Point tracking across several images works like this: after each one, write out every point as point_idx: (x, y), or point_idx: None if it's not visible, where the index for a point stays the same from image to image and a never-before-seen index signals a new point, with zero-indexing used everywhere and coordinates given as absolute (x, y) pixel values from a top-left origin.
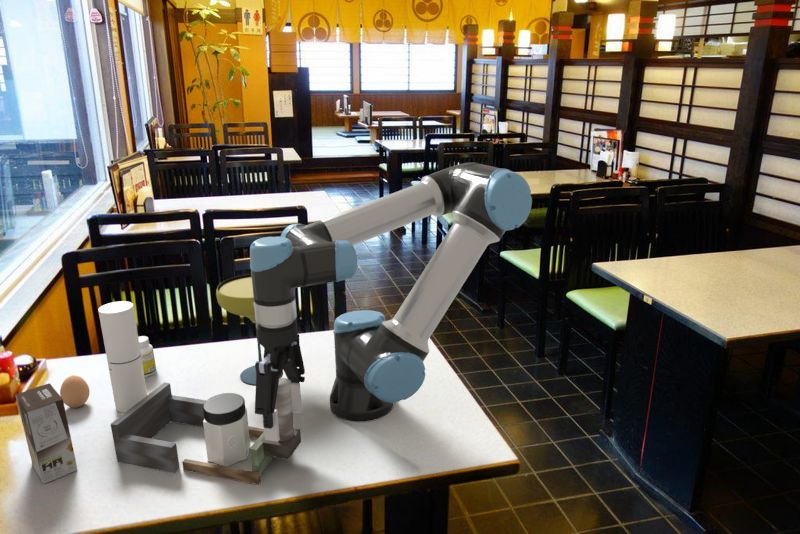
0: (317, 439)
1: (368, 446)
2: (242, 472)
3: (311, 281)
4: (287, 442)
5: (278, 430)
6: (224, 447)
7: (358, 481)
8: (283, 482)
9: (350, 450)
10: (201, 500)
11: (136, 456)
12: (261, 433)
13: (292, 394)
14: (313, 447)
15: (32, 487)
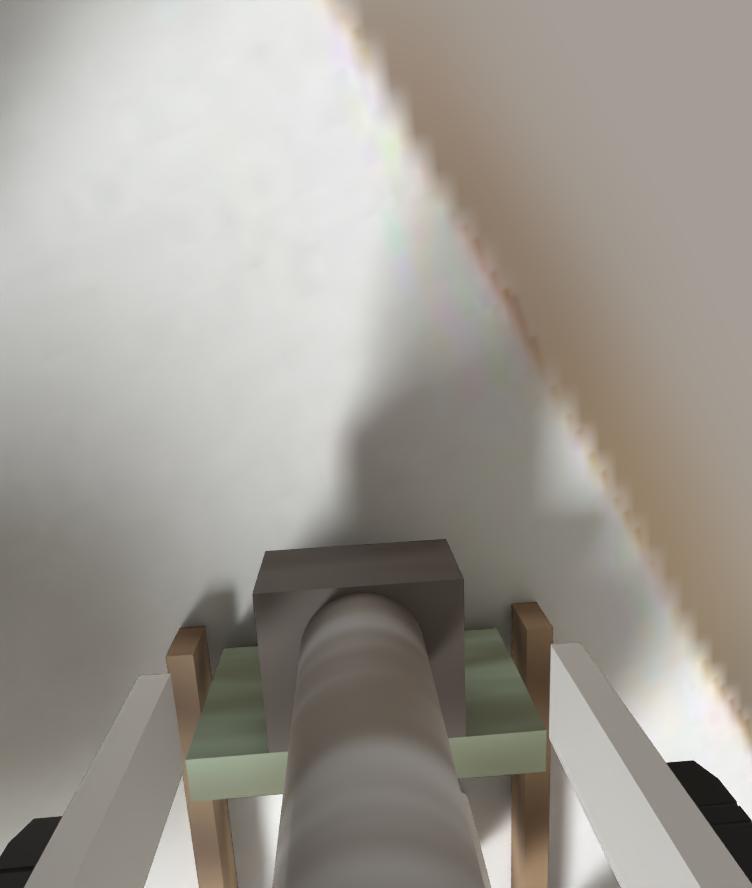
0: (107, 507)
1: (42, 186)
2: (546, 704)
3: None
4: (421, 600)
5: (593, 697)
6: (484, 884)
7: (370, 122)
8: (490, 504)
9: (125, 282)
10: (680, 756)
11: None
12: None
13: (118, 881)
14: (183, 495)
15: None
